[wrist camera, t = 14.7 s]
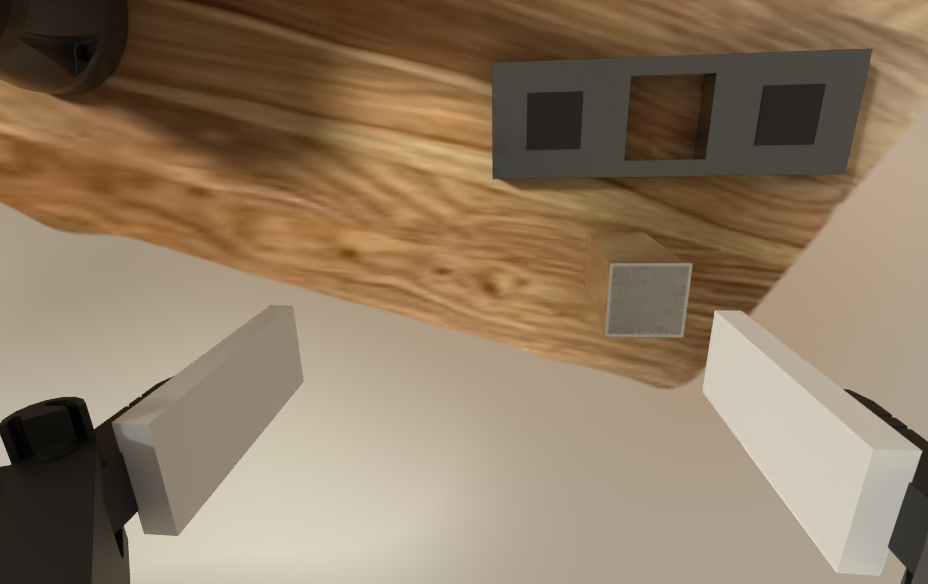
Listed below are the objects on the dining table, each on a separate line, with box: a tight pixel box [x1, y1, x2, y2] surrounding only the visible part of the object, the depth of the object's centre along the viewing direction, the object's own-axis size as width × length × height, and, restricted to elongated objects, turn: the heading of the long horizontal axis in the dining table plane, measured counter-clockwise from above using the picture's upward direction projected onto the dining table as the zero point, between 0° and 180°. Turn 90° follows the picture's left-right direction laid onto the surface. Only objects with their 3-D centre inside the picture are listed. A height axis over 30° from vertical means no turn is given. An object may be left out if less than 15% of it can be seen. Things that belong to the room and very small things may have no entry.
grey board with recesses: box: [492, 49, 872, 179], centre depth 39 cm, size 28×9×3 cm, turn 91°
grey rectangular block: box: [584, 231, 693, 337], centre depth 39 cm, size 5×5×12 cm
